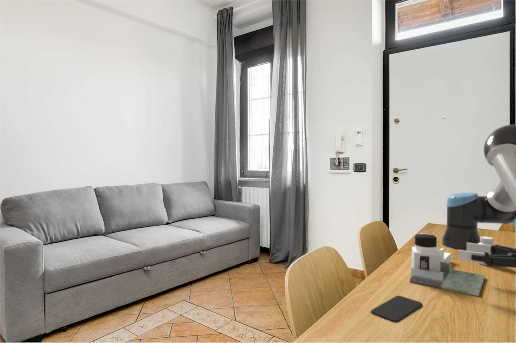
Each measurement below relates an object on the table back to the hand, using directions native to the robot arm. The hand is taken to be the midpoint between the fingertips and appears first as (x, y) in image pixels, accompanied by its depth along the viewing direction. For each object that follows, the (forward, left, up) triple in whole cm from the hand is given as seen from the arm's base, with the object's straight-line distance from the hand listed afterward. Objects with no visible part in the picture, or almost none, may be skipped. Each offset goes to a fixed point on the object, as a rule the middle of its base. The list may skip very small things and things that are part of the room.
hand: (462, 250), depth 106 cm
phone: (+31, -11, -11) cm, 35 cm away
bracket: (-16, -10, -11) cm, 22 cm away
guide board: (0, -4, -10) cm, 11 cm away
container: (0, -11, -10) cm, 14 cm away
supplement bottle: (-27, +4, -11) cm, 29 cm away
